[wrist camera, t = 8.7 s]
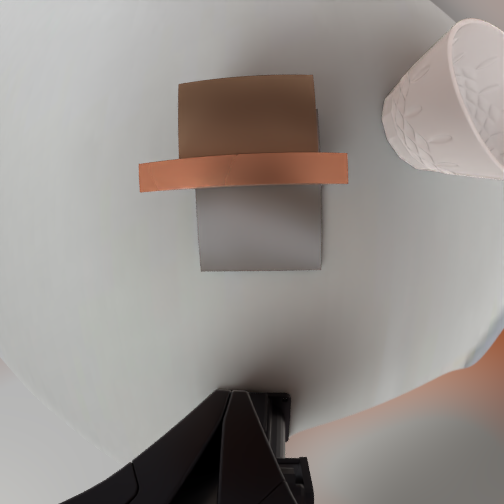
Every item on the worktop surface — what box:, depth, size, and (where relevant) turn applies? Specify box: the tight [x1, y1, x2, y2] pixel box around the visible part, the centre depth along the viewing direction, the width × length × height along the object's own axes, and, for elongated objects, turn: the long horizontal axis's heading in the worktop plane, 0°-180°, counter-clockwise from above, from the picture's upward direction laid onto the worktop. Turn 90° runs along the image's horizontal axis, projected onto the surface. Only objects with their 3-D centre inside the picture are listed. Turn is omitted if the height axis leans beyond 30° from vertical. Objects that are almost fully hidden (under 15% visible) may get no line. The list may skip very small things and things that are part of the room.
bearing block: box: [178, 75, 322, 271], centre depth 15 cm, size 10×8×7 cm
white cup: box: [382, 18, 504, 180], centre depth 11 cm, size 8×8×10 cm
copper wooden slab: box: [139, 152, 348, 192], centre depth 13 cm, size 5×7×9 cm
